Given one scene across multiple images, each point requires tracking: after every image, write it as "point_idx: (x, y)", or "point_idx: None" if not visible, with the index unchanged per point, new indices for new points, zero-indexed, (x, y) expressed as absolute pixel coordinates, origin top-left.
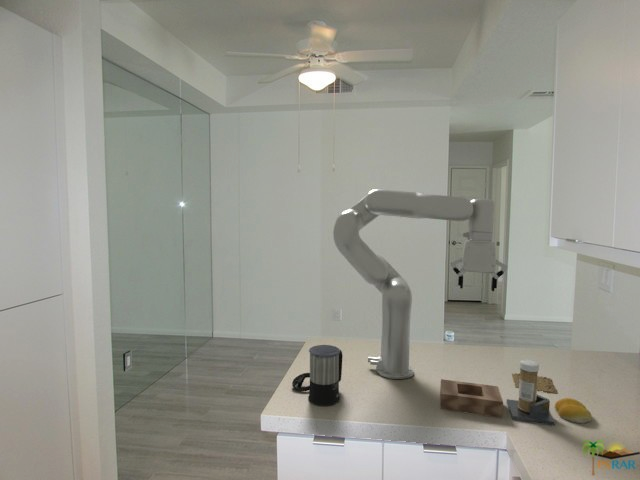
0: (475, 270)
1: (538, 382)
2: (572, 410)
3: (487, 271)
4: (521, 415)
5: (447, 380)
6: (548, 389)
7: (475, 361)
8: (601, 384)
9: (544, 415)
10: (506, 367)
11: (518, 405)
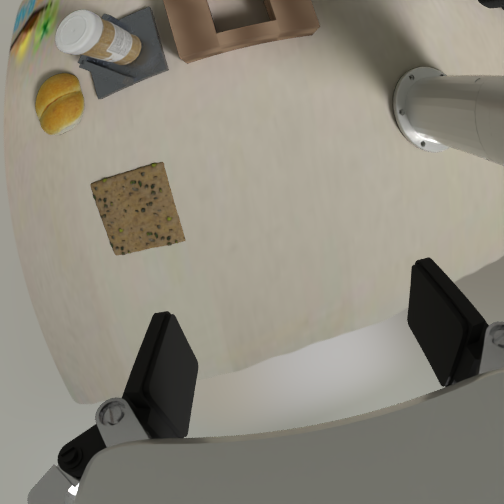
0: (379, 430)
1: (127, 217)
2: (52, 79)
3: (168, 453)
4: (134, 19)
5: (302, 25)
6: (105, 190)
7: (274, 270)
8: (54, 276)
9: None
10: (203, 271)
11: (138, 41)
